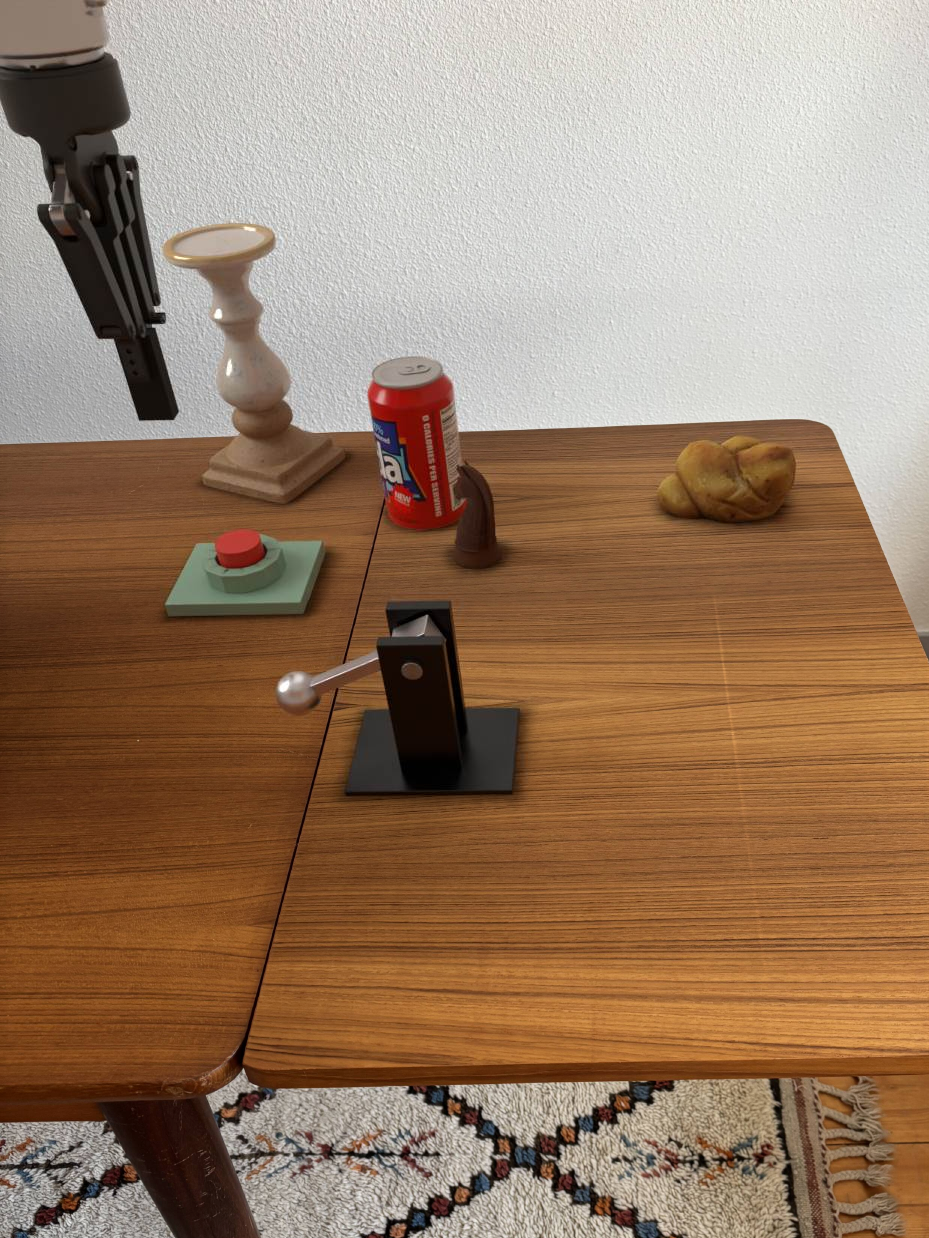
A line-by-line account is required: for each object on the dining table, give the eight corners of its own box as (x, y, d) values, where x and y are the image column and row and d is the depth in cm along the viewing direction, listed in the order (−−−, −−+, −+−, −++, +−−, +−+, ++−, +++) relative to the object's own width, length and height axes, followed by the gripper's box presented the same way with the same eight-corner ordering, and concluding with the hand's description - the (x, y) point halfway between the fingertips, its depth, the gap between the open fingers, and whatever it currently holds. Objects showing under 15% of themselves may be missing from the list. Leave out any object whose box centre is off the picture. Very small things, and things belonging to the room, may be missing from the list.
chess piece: (480, 544, 100) (469, 447, 94) (516, 564, 98) (508, 465, 91) (443, 564, 98) (430, 467, 91) (480, 585, 95) (469, 485, 89)
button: (214, 570, 92) (208, 553, 91) (226, 546, 95) (221, 529, 94) (259, 569, 92) (254, 552, 91) (269, 545, 95) (265, 528, 94)
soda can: (474, 529, 102) (457, 380, 92) (394, 543, 101) (368, 393, 91) (460, 491, 108) (443, 346, 98) (384, 503, 107) (359, 358, 97)
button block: (171, 625, 93) (157, 587, 90) (203, 562, 100) (191, 526, 97) (305, 622, 92) (295, 584, 90) (327, 560, 100) (318, 523, 97)
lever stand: (347, 805, 76) (311, 665, 67) (367, 722, 82) (337, 585, 73) (513, 804, 75) (499, 662, 66) (520, 720, 82) (508, 582, 73)
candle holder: (268, 445, 117) (211, 215, 101) (349, 463, 114) (303, 227, 97) (203, 491, 110) (130, 251, 94) (287, 512, 106) (227, 265, 90)
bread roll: (656, 534, 101) (658, 457, 95) (656, 483, 108) (657, 409, 102) (792, 533, 100) (802, 456, 94) (783, 483, 107) (791, 407, 101)
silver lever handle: (289, 731, 75) (261, 700, 73) (299, 701, 77) (271, 671, 75) (445, 668, 70) (419, 633, 68) (450, 639, 73) (425, 605, 71)
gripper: (74, 75, 60) (183, 455, 76) (143, 34, 70) (227, 379, 86) (-55, 78, 60) (82, 456, 77) (32, 37, 70) (137, 381, 86)
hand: (159, 415), depth 81 cm, fingers closed
